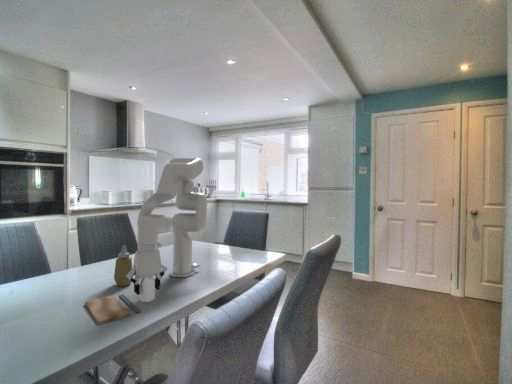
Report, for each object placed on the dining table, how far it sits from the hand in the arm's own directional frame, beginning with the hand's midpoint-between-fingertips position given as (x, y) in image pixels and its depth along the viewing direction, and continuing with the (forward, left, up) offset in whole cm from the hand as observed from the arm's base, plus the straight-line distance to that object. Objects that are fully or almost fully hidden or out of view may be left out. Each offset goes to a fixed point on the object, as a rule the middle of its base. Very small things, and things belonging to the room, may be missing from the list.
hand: (147, 290), depth 113 cm
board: (+15, 0, -3) cm, 15 cm away
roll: (0, 0, -4) cm, 4 cm away
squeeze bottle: (+2, -23, -4) cm, 23 cm away
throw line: (+7, 0, -3) cm, 8 cm away
